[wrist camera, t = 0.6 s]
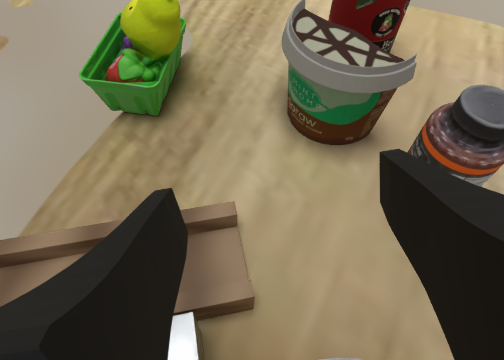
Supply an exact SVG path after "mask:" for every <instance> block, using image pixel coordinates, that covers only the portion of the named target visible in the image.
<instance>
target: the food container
mask: <svg viewBox="0 0 504 360" xmlns="http://www.w3.org/2000/svg"><path fill="white" fill-rule="evenodd" d="M282 48H283V52H284V54H285V56H286V58H287V60H288V61H289V68H288V116H289V118H290V121H291V123H292V125H293V126H294V127H295V128H296V129H297V130H298V131H299V132H300V133H301V134H302V135H304V136H306V137H307V138H309V139H311V140H314V141H316V142H319V143H323V144H329V145H345V144H350V143H354V142H356V141H359V140H361V139H363V138H364V137H366V136H367V135H368V134H369V133H370V132H371V130H372V128H373V127H374V125H375V124H376V122H377V120H378V119H379V117H380V115H381V114H382V112H383V111H384V109H385V107H386V106H387V104H388V102H389V101H390V99H391V98H392V96H393V94H394V93H395V91H396V90H397V88H398V87H399V86H401V85H403V84H405V83H407V82H408V81H410V80H411V79H412V78H413V76H414V72H415V67H416V63H417V62H414V60H415V58H416V55H417V54H415V55H414V56H412V57H411V58H409V59H407V60H403V59H402V58H399V57H397V56H394V55H392V54H390V53H388V52H387V51H385V50H383V49H381V48H379V47H378V46H376V45H375V44H374V43H372V42H371V41H369V40H368V39H367V38H365V37H364V36H362V35H361V34H359V33H358V32H356V31H355V30H352V29H350V28H347V27H344V26H341V25H338V24H335V23H332V22H329V21H327V20H325V19H323V18H321V17H319V16H317V15H315V14H313V13H311V12H309V11H307V10H306V9H305V0H301V1H300V2H299V3H298V4H297V5H296V6H295V7H294V9H293V11H292V12H291V14H290V16H289V18H288V20H287V23H286V26H285V29H284V32H283V36H282Z"/></svg>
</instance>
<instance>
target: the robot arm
mask: <svg viewBox="0 0 504 360" xmlns="http://www.w3.org/2000/svg"><path fill="white" fill-rule="evenodd" d="M380 203H381V205H382V208H383V211H384V213H385V216H386V218H387V221H388V223H389V226H390V227H391V229H392V231H393V233H394V235H395V236H396V238H397V240H398V242H399V243H400V245H401V247H402V249H403V250H404V252H405V254H406V256H407V257H408V259H409V261H410V262H411V264H412V266H413V268H414V269H415V271H416V273H417V275H418V276H419V278H420V280H421V282H422V284H423V286H424V288H425V290H426V292H427V294H428V297H429V299H430V301H431V304H432V306H433V308H434V311H435V313H436V315H437V317H438V320H439V322H440V325H441V327H442V330H443V332H444V334H445V337H446V339H447V342H448V344H449V347H450V349H451V352H452V354H453V357H454V360H504V195H503V194H500V193H497V192H494V191H491V190H488V189H485V188H483V187H480V186H477V185H475V184H472V183H470V182H468V181H465V180H463V179H460V178H458V177H456V176H453V175H451V174H449V173H447V172H445V171H443V170H441V169H439V168H436V167H434V166H432V165H430V164H428V163H426V162H424V161H422V160H421V159H419V158H417V157H415V156H413V155H411V154H409V153H407V152H404V151H402V150H400V149H395V150H389V151H383V152H380ZM187 244H188V230H187V228H186V225H185V222H184V220H183V217H182V214H181V212H180V209H179V206H178V203H177V201H176V198H175V195H174V193H173V190H172V188H168V189H162V190H156V191H154V192H153V193H152V194H151V195H149V196H148V197H147V198H146V199H145V200H144V201H143V202H142V203H141V204H140V205H139V206H138V207H137V208H136V209H135V210H134V211H133V212H132V213H131V214H130V215H129V216H128V217H127V218H126V219H125V220H124V221H123V222H122V223H121V224H120V225H119V226H117V227H116V228H115V229H114V230H113V231H112V232H111V233H110V234H109V235H107V236H106V237H105V238H104V239H103V240H102V241H101V242H100V243H98V244H97V245H96V246H95V247H94V248H92V249H91V250H90V251H89V252H87V253H86V254H85V255H83V256H82V257H81V258H79V259H78V260H77V261H75V262H74V263H73V264H71V265H70V266H68V267H67V268H65V269H64V270H62V271H61V272H59V273H58V274H56V275H55V276H53V277H52V278H50V279H49V280H47V281H45V282H44V283H42V284H41V285H39V286H37V287H36V288H34V289H32V290H30V291H29V292H27V293H25V294H23V295H21V296H20V297H18V298H16V299H14V300H12V301H10V302H9V303H7V304H5V305H3V306H1V307H0V360H168V352H169V343H170V334H171V326H172V320H173V314H174V309H175V305H176V301H177V296H178V292H179V288H180V283H181V279H182V275H183V270H184V266H185V261H186V255H187ZM321 360H362V359H354V358H329V359H321Z"/></svg>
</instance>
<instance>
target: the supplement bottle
mask: <svg viewBox="0 0 504 360" xmlns="http://www.w3.org/2000/svg"><path fill="white" fill-rule="evenodd" d="M407 153H409V154H411V155H413V156H415V157H417V158H419V159H421V160H422V161H424V162H426V163H428V164H430V165H432V166H434V167H436V168H439V169H441V170H443V171H445V172H447V173H449V174H451V175H453V176H456V177H458V178H460V179H463V180H465V181H468V182H470V183H472V184H475V185H477V186H480V187H481V186H482V185H483V184H484V183H485V182H486V181H487V180H488V179H489V178H490V177H491V176H492V175H493V174H494V173H495V172H496V171H497V170H498V169H499V168H500V167H501V166H502V165H503V164H504V90H501V89H499V88H497V87H493V86H488V85H475V86H471V87H468V88H467V89H465V90H464V91H463V92H462V93H461V95H460V96H459V98H458V99H457V100H456V101H455V102H454V103H449V104H446V105H443V106H441V107H439V108H438V109H436V110H435V111H434V112H433V113H432V114H431V115H430V117H429V118H428V120H427V121H426V123H425V125H424V126H423V128H422V129H421V131H420V133H419V134H418V136H417V137H416V139H415V141H414V143H413V144H412V146H411V148H410V149H409V151H408V152H407Z"/></svg>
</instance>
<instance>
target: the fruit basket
mask: <svg viewBox="0 0 504 360" xmlns="http://www.w3.org/2000/svg"><path fill="white" fill-rule="evenodd" d="M185 26H186V20H185V19H183V18H180V5H179V2H178V0H132V1H131V2H130V3H129V4H127V6H126V7H125V8H124V10H123V12H121V13H119V14H118V15H117V16H116V17H115V19H114V21H113V22H112V24H111V25H110V27H109V29H108V30H107V32H106V34H105V35H104V37H103V38H102V40H101V41H100V43H99V44H98V45H97V47H96V49H95V50H94V52H93V54H92V55H91V57H90V58H89V60H88V61H87V63H86V64H85V66H84V67H83V69H82V70H81V72H80V74H79V77H80V78H81V79H82V80H83V81H84V82H85V83H86V84H87V85H88V86H90V87H91V88H92V89H93V90H94V91H95V92H96V93H97V95H98V96H99V97H100V98H101V99H102V100H103V101H104V102H105V104H106V105H107V106H108V107H109V108H110V109H111V110H113V111H117V110H122V111H124V112H130V113H138V114H147V113H148V114H150V115H154V116H157V115H158V114H159V111H160V109H161V107H162V101H163V100H164V99H165V97H166V94H167V92H168V87H169V85H170V84H171V82H172V80H173V77H174V73H175V71H176V70H177V68H178V65H179V63H180V55H181V47H182V39H183V34H184V32H185Z"/></svg>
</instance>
